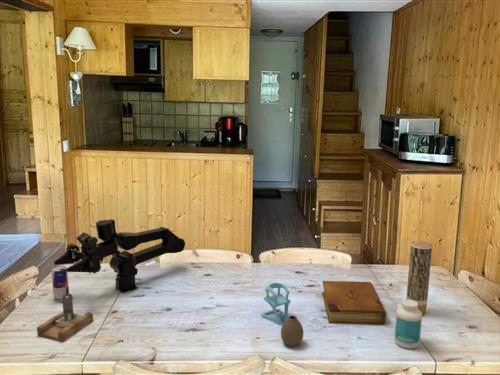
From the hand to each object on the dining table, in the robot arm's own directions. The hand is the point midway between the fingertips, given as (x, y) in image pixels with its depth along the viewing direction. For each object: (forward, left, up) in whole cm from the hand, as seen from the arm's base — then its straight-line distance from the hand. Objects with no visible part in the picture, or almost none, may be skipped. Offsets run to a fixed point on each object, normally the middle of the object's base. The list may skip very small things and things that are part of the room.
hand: (60, 266), depth 158 cm
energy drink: (-3, -10, -16) cm, 19 cm away
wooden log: (-90, +84, -16) cm, 124 cm away
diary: (-76, +67, -17) cm, 103 cm away
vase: (-43, +68, -17) cm, 82 cm away
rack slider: (+3, +12, -15) cm, 20 cm away
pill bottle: (-69, +92, -16) cm, 116 cm away
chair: (-51, +54, -16) cm, 76 cm away
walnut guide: (+4, +13, -16) cm, 21 cm away
